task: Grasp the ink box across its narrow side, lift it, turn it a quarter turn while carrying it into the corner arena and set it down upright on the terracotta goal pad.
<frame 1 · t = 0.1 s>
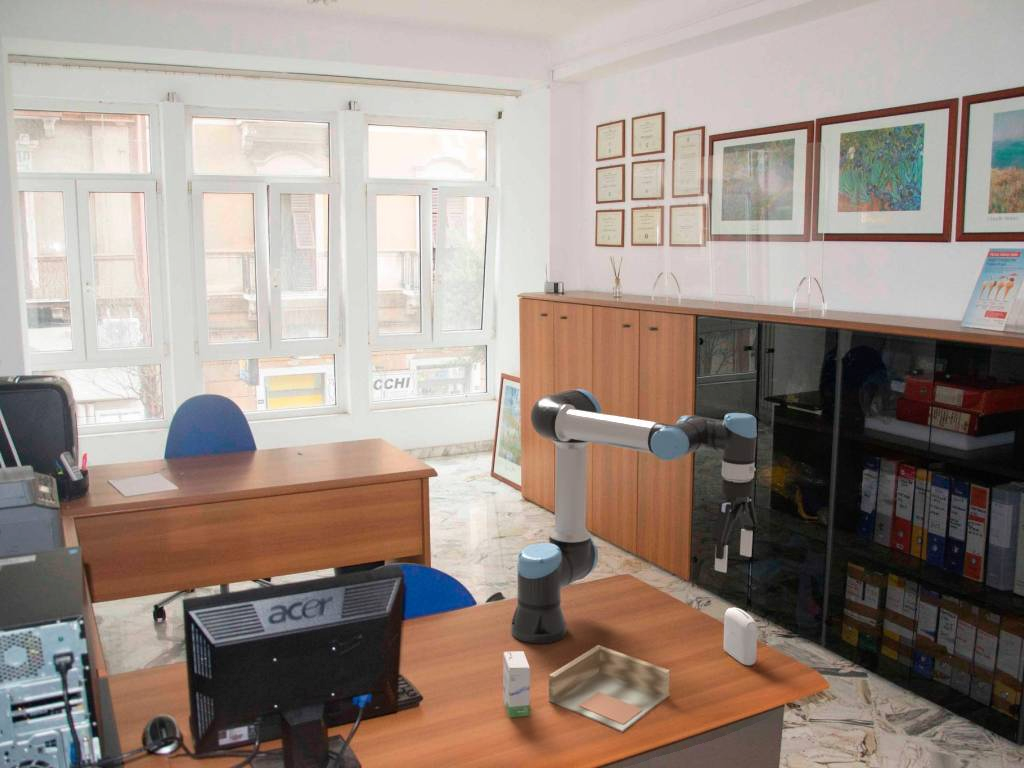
hand: (733, 563, 212), 28 cm above the table, fingers open, 13 cm apart
ink box: (516, 708, 199), on the table
arena: (609, 698, 203), on the table
goal pad: (610, 709, 198), resting on arena
photo printer: (739, 657, 224), on the table
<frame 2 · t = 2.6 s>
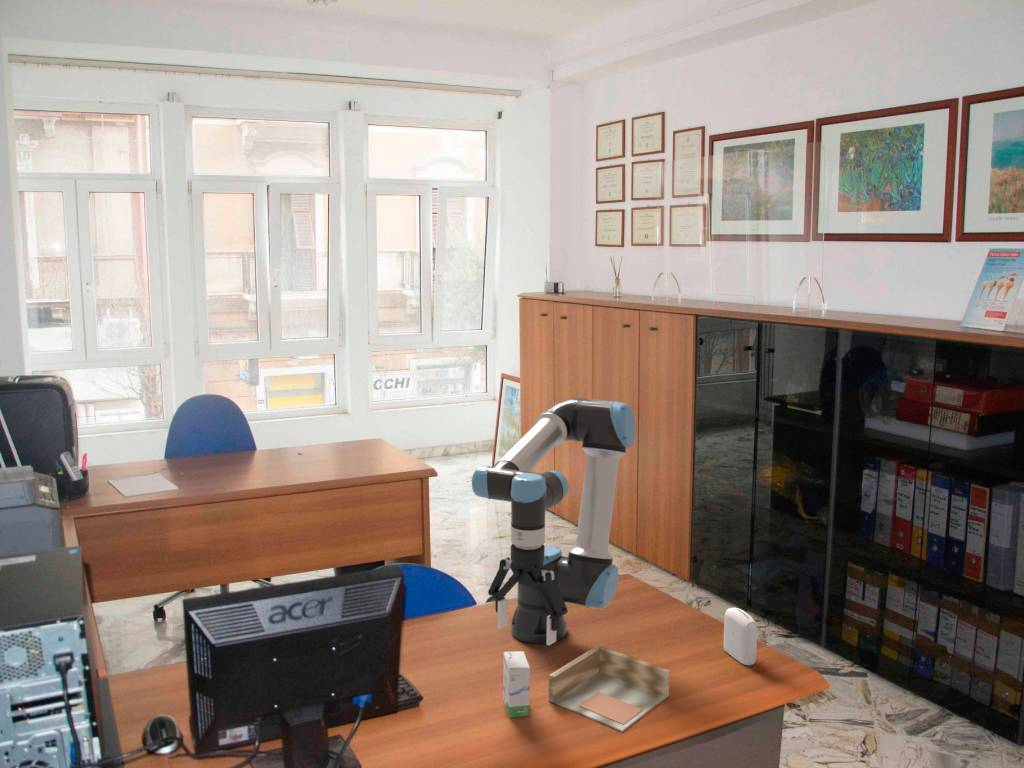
hand: (526, 634, 196), 17 cm above the table, fingers open, 13 cm apart
nothing on the table moved.
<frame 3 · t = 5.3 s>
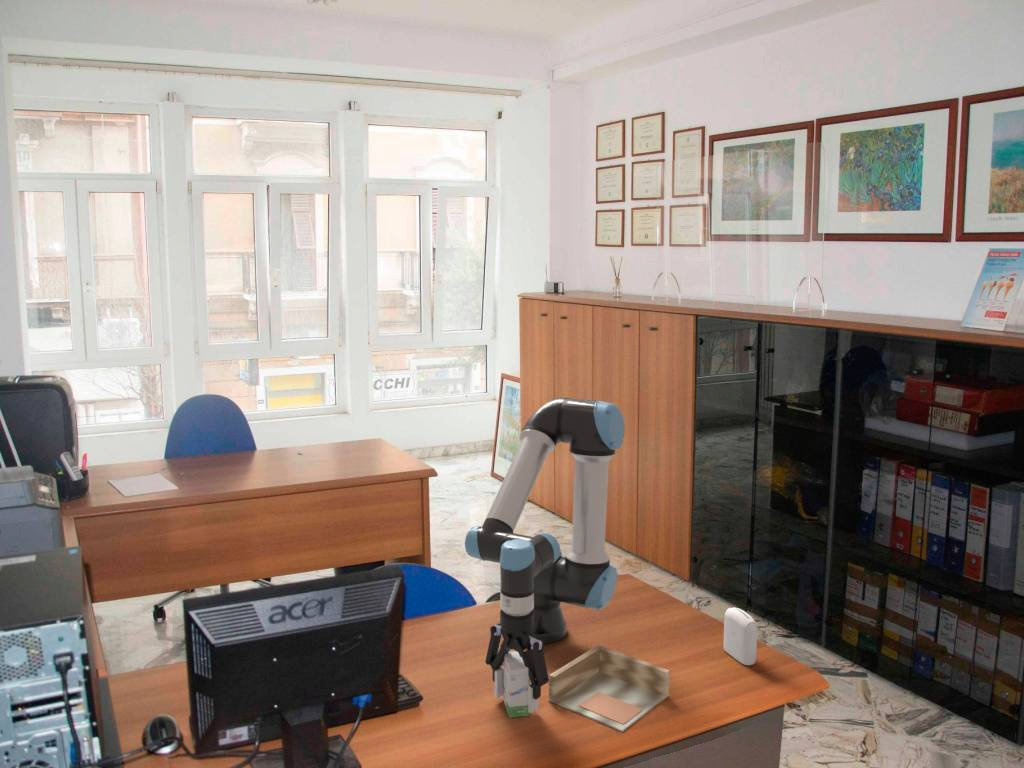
hand: (516, 702, 199), 1 cm above the table, fingers closed on ink box, 9 cm apart
ink box: (516, 708, 199), on the table, touching gripper
everything else where it was.
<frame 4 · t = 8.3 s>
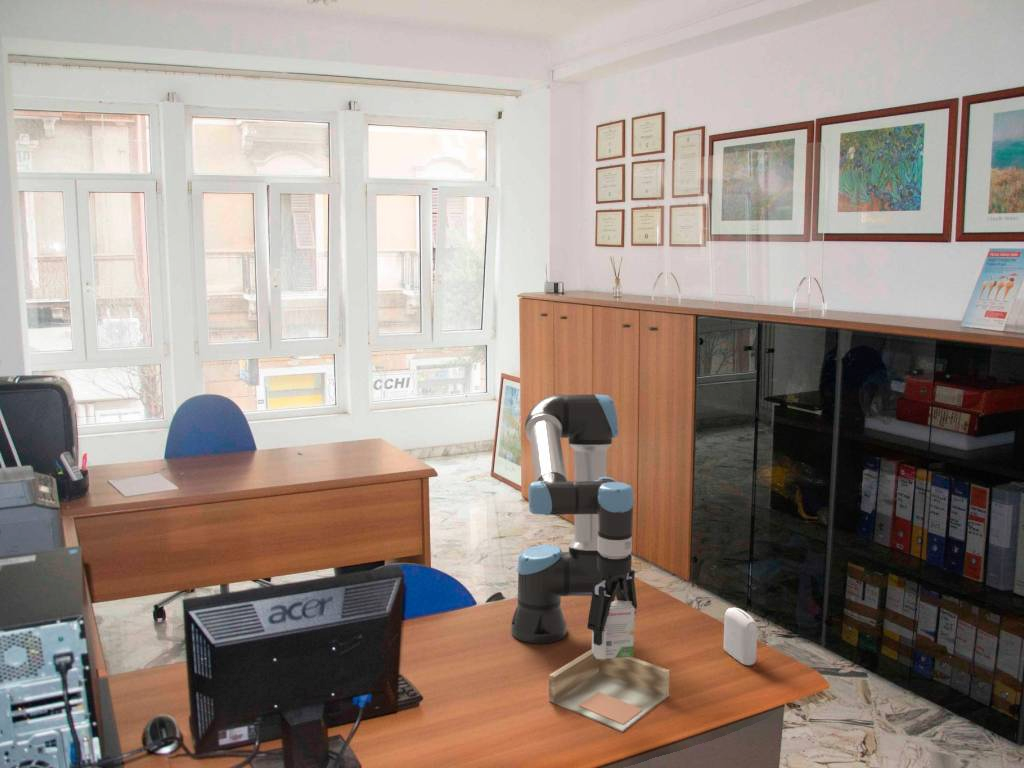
hand: (612, 649, 195), 15 cm above the table, fingers closed on ink box, 9 cm apart
ink box: (612, 654, 196), point 13 cm above the table, touching gripper
everything else where it was.
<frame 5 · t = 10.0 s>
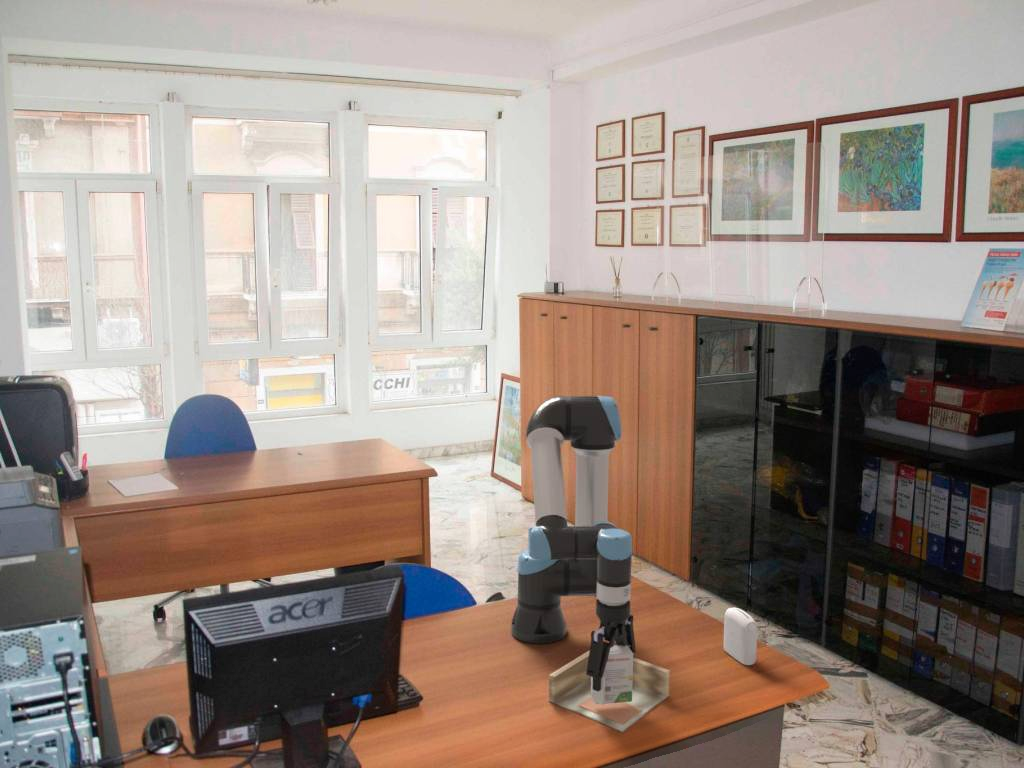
hand: (610, 693, 197), 4 cm above the table, fingers closed on ink box, 9 cm apart
ink box: (611, 699, 197), point 3 cm above the table, touching gripper
everything else where it was.
when the fingers open (3 cm above the table, at t = 11.2 s): ink box stays where it is, resting on goal pad.
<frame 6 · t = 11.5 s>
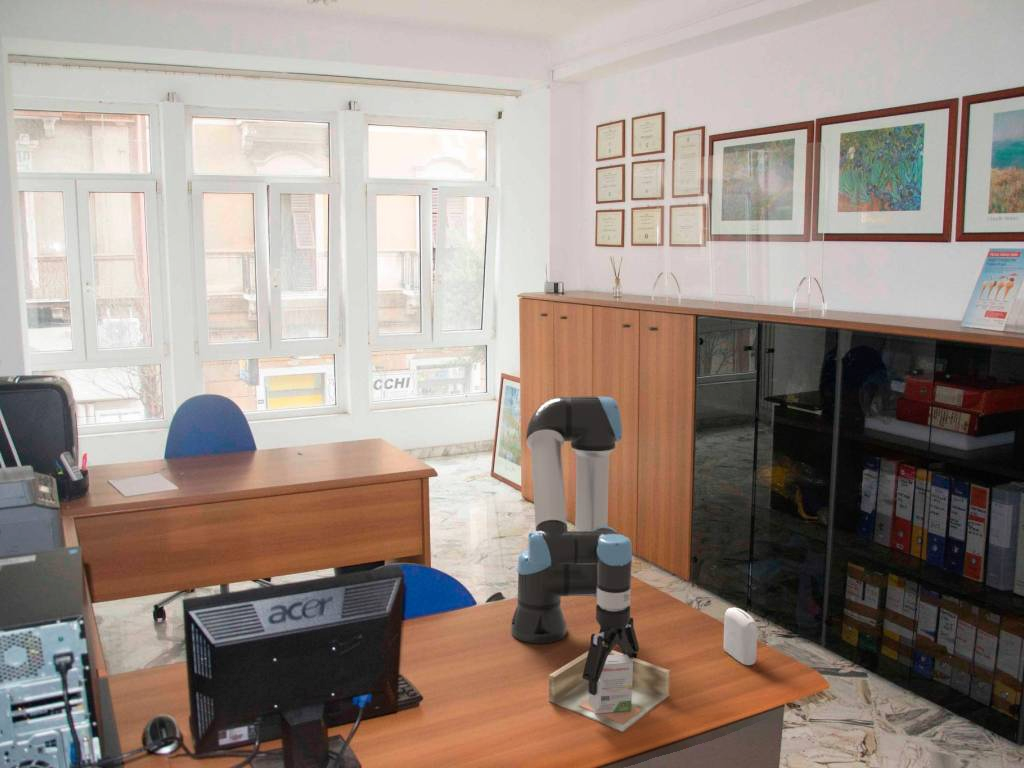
hand: (610, 694, 197), 4 cm above the table, fingers open, 12 cm apart
ink box: (610, 708, 198), resting on goal pad
everything else where it was.
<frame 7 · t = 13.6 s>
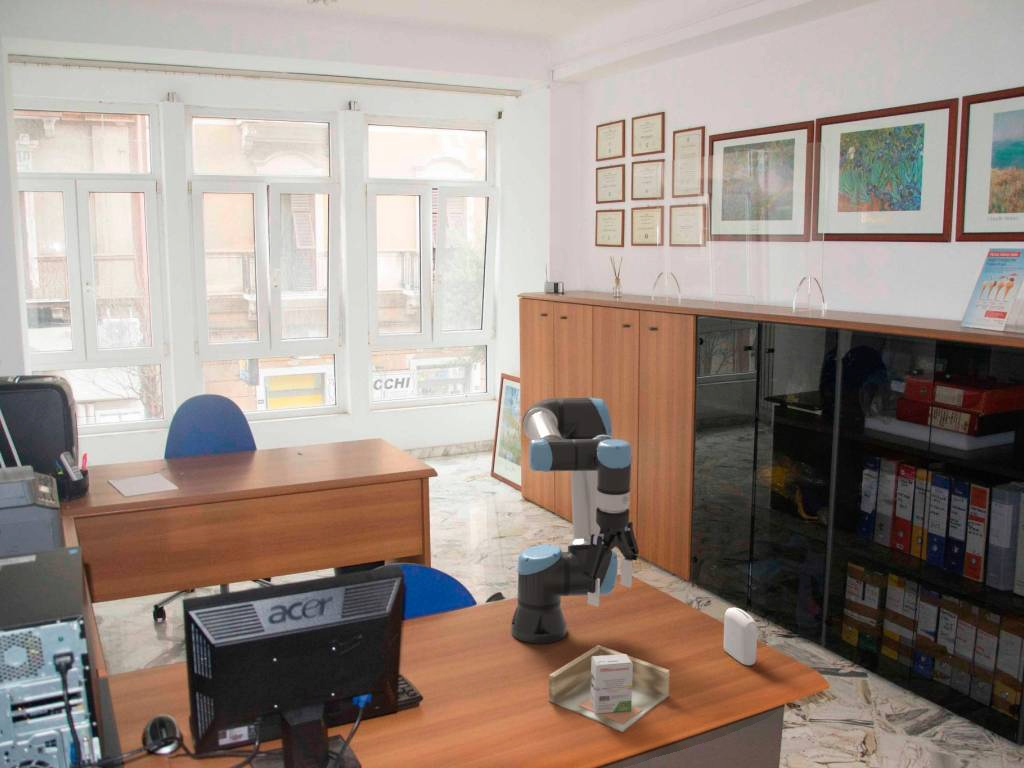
hand: (609, 594, 203), 24 cm above the table, fingers open, 13 cm apart
nothing on the table moved.
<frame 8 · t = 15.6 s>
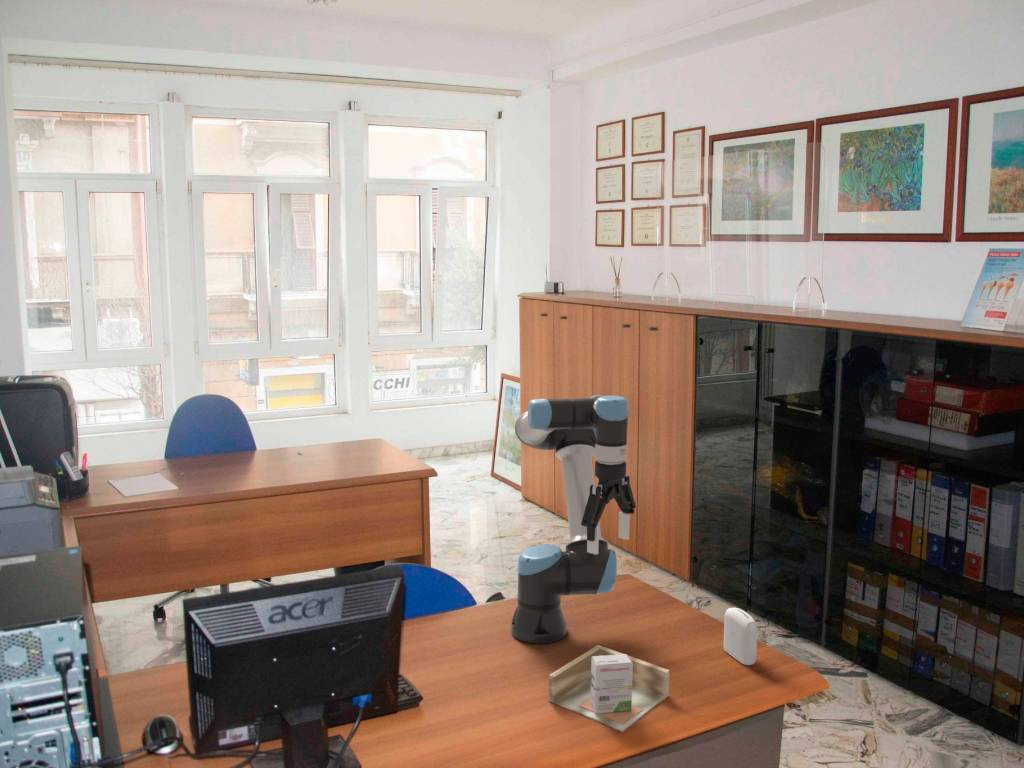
hand: (608, 545, 212), 32 cm above the table, fingers open, 13 cm apart
nothing on the table moved.
at the end: ink box inside the target area (0.0 cm from its centre), resting on goal pad; ink box tilted 0°; the gripper is holding nothing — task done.
